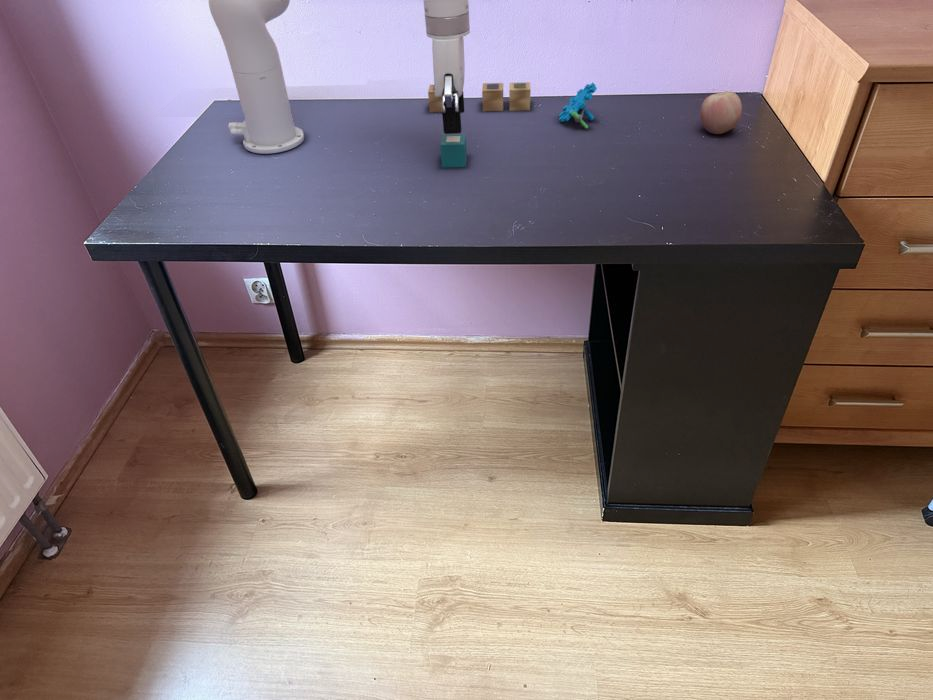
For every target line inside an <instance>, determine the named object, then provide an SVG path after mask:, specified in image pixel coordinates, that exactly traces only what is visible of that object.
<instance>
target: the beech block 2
mask: <svg viewBox="0 0 933 700" xmlns="http://www.w3.org/2000/svg"><path fill="white" fill-rule="evenodd" d="M481 101H482V112H503V111H504V82H489V83H488V82H487V83H486V82H485V83H482V90H481Z"/></svg>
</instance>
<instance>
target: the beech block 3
mask: <svg viewBox="0 0 933 700" xmlns="http://www.w3.org/2000/svg"><path fill="white" fill-rule="evenodd" d="M508 98H509V100H508V101H509V102H508V103H509V107H508V108H509V109H508V110H509V111H510V112H513V111H516V112H517V111H520V112H521V111H531V82H529V81H528V82H527V81H526V82H509V97H508Z"/></svg>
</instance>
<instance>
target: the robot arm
mask: <svg viewBox="0 0 933 700" xmlns="http://www.w3.org/2000/svg"><path fill="white" fill-rule="evenodd" d="M290 1H291V0H208V7H209V11H210V14H211V17H212V20H213V22H214V23H215V24H214V25H216V27H217V30H218V32H219V35H220V37H221V39H222V43H223V45H224V48H225V51H226V55H227V58H228V62H229V66H230V69H231V72H232V76H233V80H234V84H235V88H236V91H237V95H238V98H239V102H240V107H241V110H242V114H243V118H244V120H243V121H242V122H238V121H235V122H233V121H232V122H231V121H230V122H228V124H227V125H228V126H227V127H228V129H229V132H230V135H231V136H242V137H244V138H243V139H242V143H243V147H244V148H245V150H247V151H249V152H251V153H254V154H259V155H260V154H261V155H269V154H270V155H271V154H277V153H283V152H287V151H290V150H292V149H295V148H296V147H298V146H300V145H301V144H302V143H303V142H304V140H305V133H304V131H303V129H302V128H300V127H298V126H295V123H294V119H293V113H292V108H291V104H290V100H289V95H288V90H287V86H286V81H285V75H284V72H283V66H282V61H281V59H280V54H279V50H278V47H277V45H276V42H275V40H274V39H273V37H272V36H271V34H270V32H269V30H268V28H267V26H266V24H267V23H269V22H270V21H273V20H275V19H276V18H278V17H280V16H281V15H283V14H284V13H285V12H286V11H287V9H288V7H289V5H290ZM422 1H423V11H424V12H423V13H424V22H425V24H424V25H425V32H426V37H427V38H430V39H432V43H431V45H432V46H431V47H432V48H431V49H432V68H433V85H434V87H435V97H436V98H439V97H441V96H442V97H443V111H442V112H441V116H442V126H443V129H442V130H443V133H444V135H458V134H461V133H462V117H461V114H464V113H465V99H464V98H465V97H464V96H465V95H464V84H465V72H466V71H465V65H466V64H465V43H464V41H465V40H464V37H466V36H468V35H469V34H470V33H471V26H470V11H469V10H470V7H469V0H422ZM442 93H443V95H442Z"/></svg>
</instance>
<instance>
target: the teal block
mask: <svg viewBox="0 0 933 700" xmlns="http://www.w3.org/2000/svg"><path fill="white" fill-rule="evenodd" d="M439 146H440V147H439V148H440V161H441V168H466V167H467V160H468V159H467V158H468V154H467V153H468V152H467V134H465V133H463V134H442V135H441V140H440V145H439Z"/></svg>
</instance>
